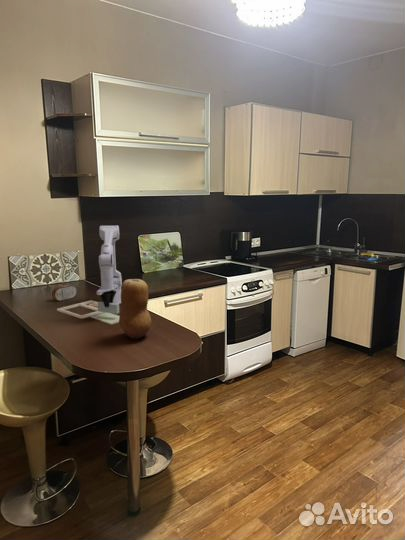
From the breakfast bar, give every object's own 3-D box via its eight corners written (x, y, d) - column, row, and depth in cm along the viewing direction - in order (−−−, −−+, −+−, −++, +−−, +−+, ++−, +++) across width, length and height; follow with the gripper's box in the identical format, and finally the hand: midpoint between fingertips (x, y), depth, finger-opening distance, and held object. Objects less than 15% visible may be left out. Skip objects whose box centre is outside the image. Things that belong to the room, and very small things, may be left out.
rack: (91, 302, 222) (91, 300, 222) (115, 309, 209) (115, 306, 209) (57, 311, 206) (56, 308, 206) (81, 319, 193) (81, 316, 193)
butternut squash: (158, 336, 170) (156, 279, 165) (133, 345, 160) (131, 285, 156) (137, 329, 179) (135, 275, 174) (112, 337, 169) (110, 280, 165)
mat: (106, 313, 203) (106, 312, 203) (127, 319, 193) (127, 318, 193) (90, 317, 195) (90, 316, 195) (111, 324, 186) (111, 323, 186)
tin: (75, 296, 236) (74, 282, 234) (78, 297, 234) (77, 283, 232) (52, 301, 224) (51, 287, 223) (55, 302, 222) (54, 288, 221)
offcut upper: (94, 304, 217) (94, 302, 217) (105, 308, 211) (105, 305, 210) (88, 306, 214) (88, 304, 214) (100, 309, 208) (100, 307, 208)
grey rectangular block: (100, 310, 197) (100, 301, 196) (119, 312, 193) (119, 303, 192) (98, 311, 195) (97, 302, 194) (117, 313, 191) (116, 305, 190)
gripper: (109, 275, 199) (110, 301, 201) (90, 281, 185) (92, 309, 188) (121, 276, 196) (122, 303, 199) (103, 282, 183) (104, 310, 185)
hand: (108, 306), depth 193 cm, fingers closed on grey rectangular block, 2 cm apart
